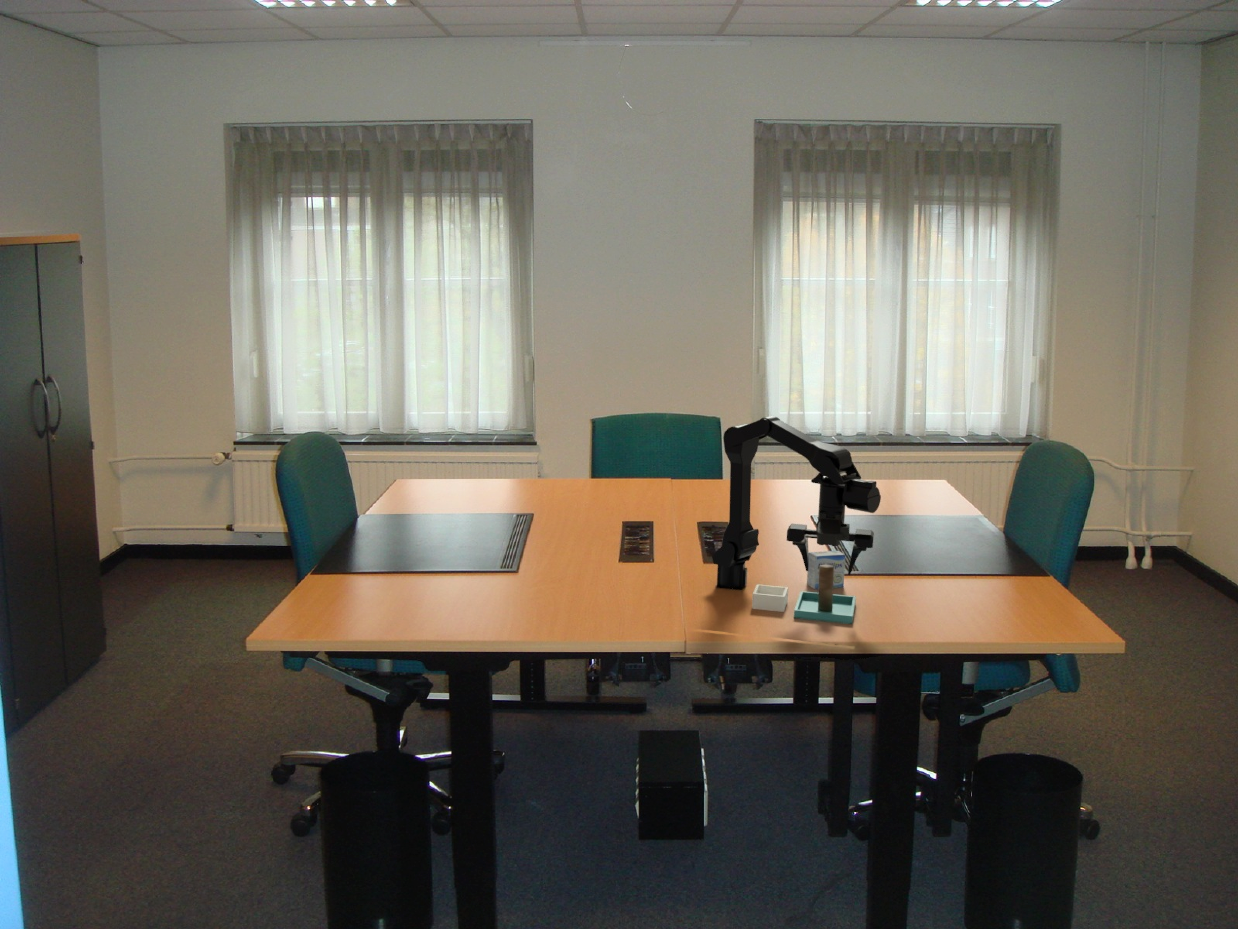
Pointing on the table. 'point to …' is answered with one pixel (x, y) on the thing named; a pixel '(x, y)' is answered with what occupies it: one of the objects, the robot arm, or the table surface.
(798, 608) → the tray
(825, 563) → the medicine box
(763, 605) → the white square box
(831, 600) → the dowel
